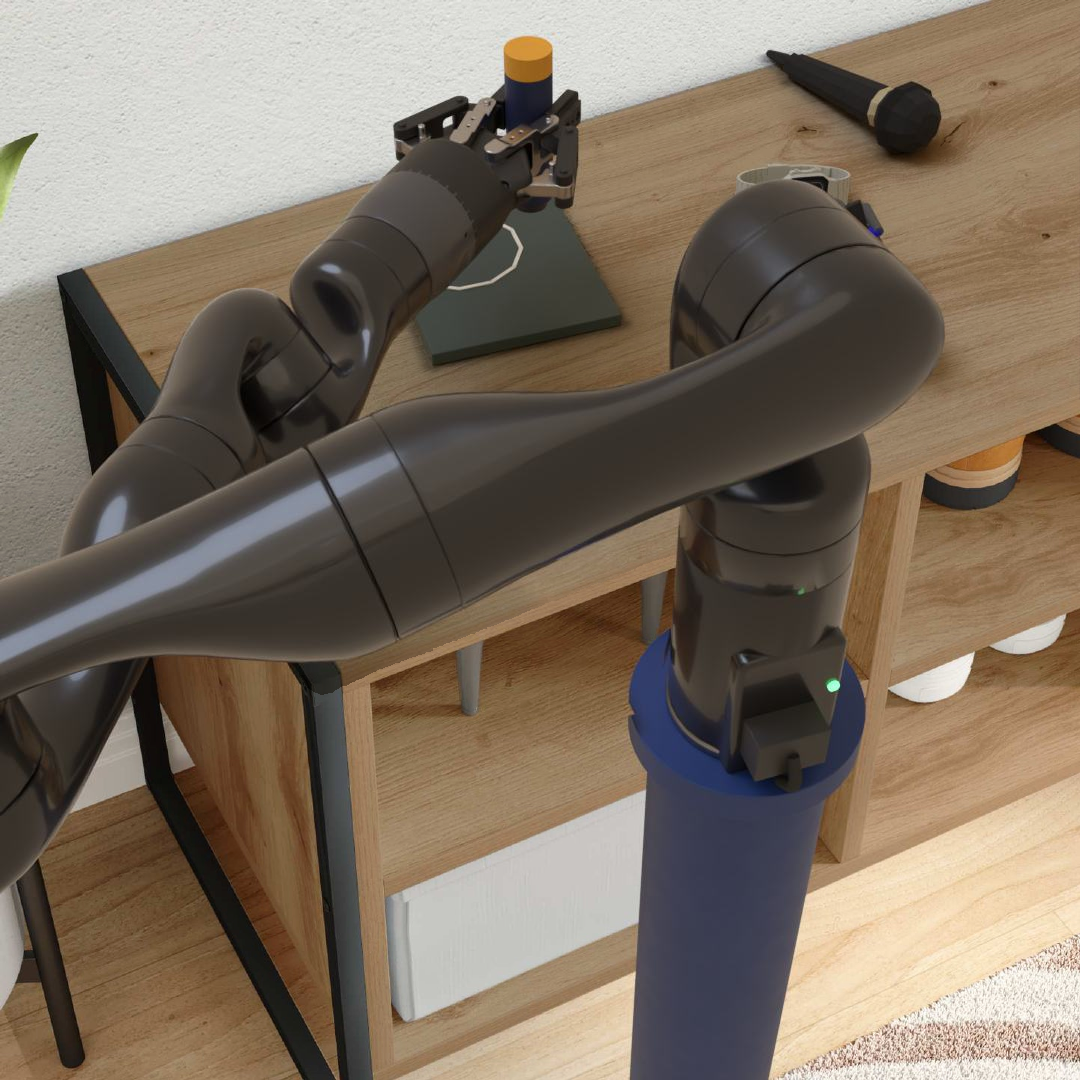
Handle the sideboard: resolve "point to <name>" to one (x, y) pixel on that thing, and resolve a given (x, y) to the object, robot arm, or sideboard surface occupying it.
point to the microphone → (870, 101)
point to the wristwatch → (800, 177)
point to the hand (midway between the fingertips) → (548, 96)
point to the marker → (528, 91)
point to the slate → (519, 292)
